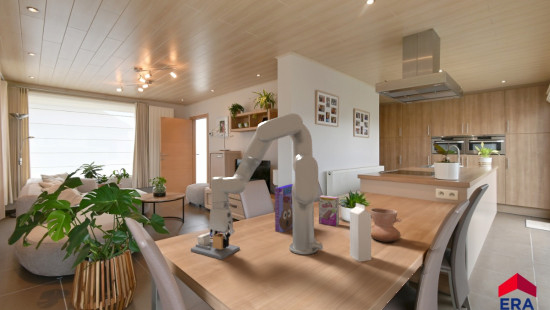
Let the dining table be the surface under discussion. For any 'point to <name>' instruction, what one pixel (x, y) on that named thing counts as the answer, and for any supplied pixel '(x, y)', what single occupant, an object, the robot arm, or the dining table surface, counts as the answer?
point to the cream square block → (204, 239)
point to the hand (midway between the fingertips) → (221, 245)
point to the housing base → (215, 250)
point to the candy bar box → (329, 210)
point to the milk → (360, 233)
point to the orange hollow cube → (218, 241)
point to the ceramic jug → (384, 225)
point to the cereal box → (283, 208)
